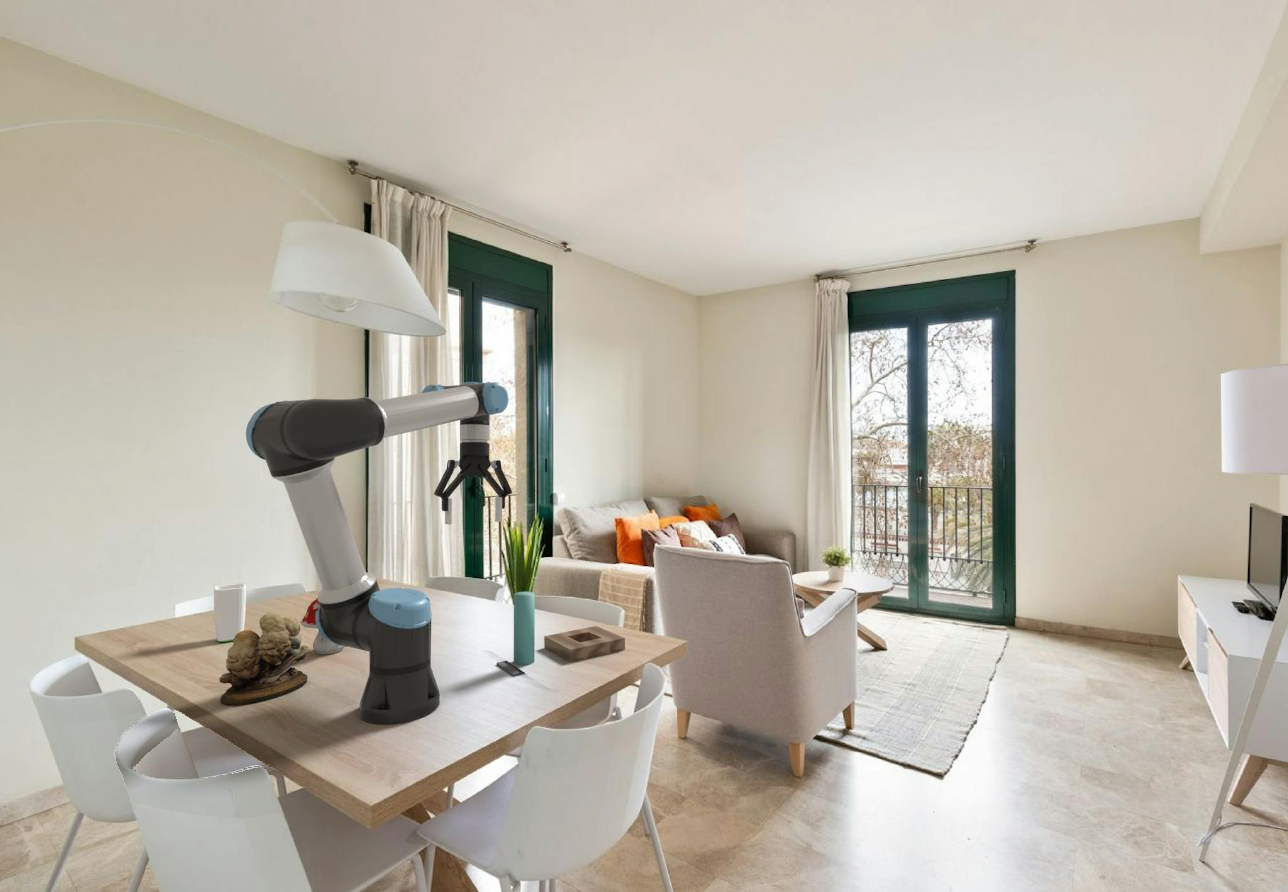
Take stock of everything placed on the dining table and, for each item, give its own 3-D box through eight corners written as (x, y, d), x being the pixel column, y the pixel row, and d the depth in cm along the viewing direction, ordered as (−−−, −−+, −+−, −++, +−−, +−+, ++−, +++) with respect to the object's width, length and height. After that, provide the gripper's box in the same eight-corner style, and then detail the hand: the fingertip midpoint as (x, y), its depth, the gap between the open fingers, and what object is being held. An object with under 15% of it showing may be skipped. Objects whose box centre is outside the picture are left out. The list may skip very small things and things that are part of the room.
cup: (243, 634, 177) (244, 582, 177) (246, 640, 171) (246, 587, 172) (213, 639, 173) (213, 586, 173) (214, 645, 167) (214, 590, 167)
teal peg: (518, 668, 146) (519, 597, 146) (510, 663, 150) (510, 593, 150) (537, 664, 149) (538, 594, 149) (529, 659, 153) (529, 590, 153)
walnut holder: (570, 666, 149) (570, 649, 149) (544, 651, 160) (544, 636, 160) (625, 653, 158) (624, 637, 158) (596, 640, 170) (596, 625, 170)
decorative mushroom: (369, 648, 164) (369, 592, 164) (317, 663, 152) (317, 602, 152) (341, 639, 172) (341, 586, 172) (289, 653, 160) (289, 595, 160)
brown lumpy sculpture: (293, 673, 145) (293, 601, 146) (323, 682, 139) (323, 607, 140) (208, 699, 130) (208, 618, 130) (238, 711, 124) (238, 626, 124)
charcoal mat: (513, 676, 142) (513, 674, 142) (496, 664, 150) (496, 662, 150) (552, 667, 148) (552, 665, 148) (533, 656, 156) (533, 654, 156)
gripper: (512, 443, 171) (512, 519, 171) (422, 440, 156) (421, 524, 156) (524, 442, 165) (524, 521, 165) (431, 439, 150) (430, 526, 150)
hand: (474, 522), depth 160 cm, fingers open, 13 cm apart
